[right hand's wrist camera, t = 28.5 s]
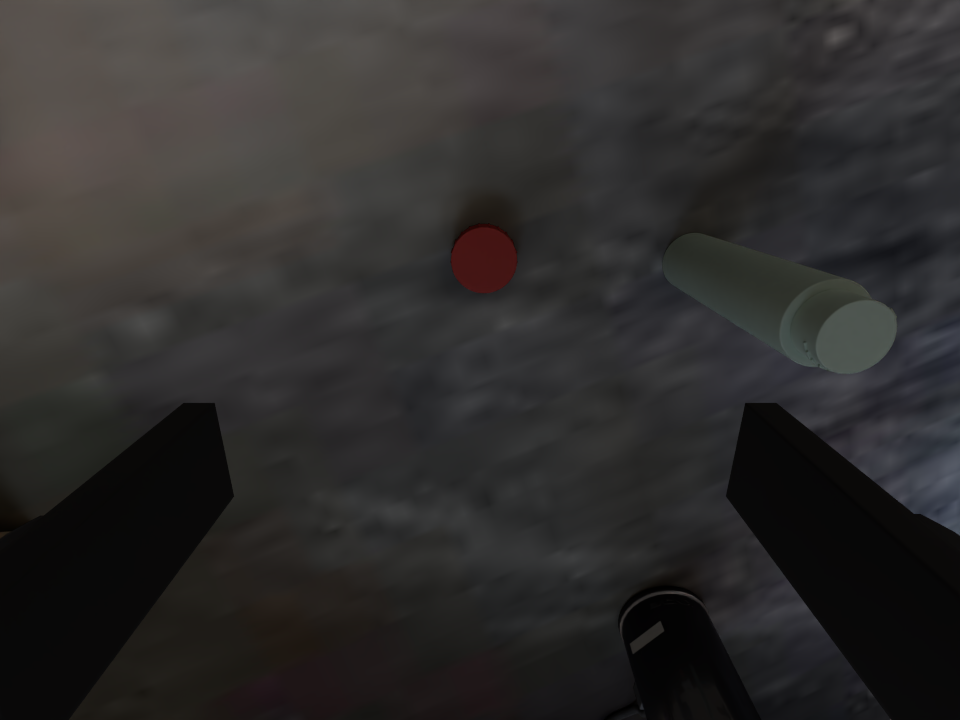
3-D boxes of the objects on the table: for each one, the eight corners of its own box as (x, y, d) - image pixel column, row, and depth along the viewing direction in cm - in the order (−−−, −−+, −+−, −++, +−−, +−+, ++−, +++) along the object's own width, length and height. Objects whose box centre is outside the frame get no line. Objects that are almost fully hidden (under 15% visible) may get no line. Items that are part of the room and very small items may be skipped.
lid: (496, 210, 40) (497, 212, 37) (527, 267, 41) (529, 273, 39) (439, 243, 40) (437, 248, 38) (472, 298, 42) (472, 305, 40)
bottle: (679, 299, 42) (829, 401, 24) (651, 256, 41) (788, 329, 23) (728, 266, 41) (924, 347, 23) (701, 220, 40) (885, 267, 22)
